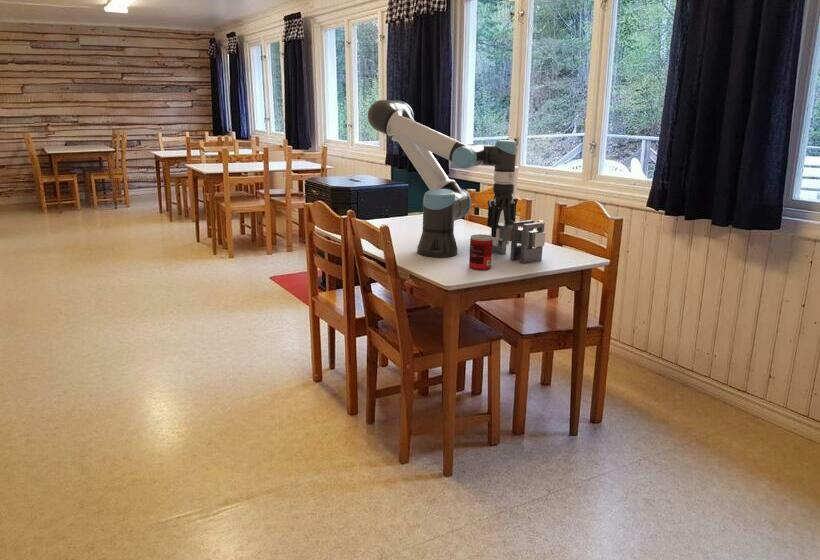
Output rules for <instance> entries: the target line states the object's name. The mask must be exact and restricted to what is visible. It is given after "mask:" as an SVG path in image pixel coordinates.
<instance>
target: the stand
mask: <svg viewBox="0 0 820 560" xmlns="http://www.w3.org/2000/svg"><path fill="white" fill-rule="evenodd" d="M507 246H508V244H507V241H506V240H503V239H499V238H498V246H495V245H493V246H492V253H495V254H499V255H505V254H507Z"/></svg>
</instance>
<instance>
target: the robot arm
mask: <svg viewBox="0 0 820 560" xmlns="http://www.w3.org/2000/svg"><path fill="white" fill-rule="evenodd" d="M414 117H415V114H414V111H413V109H412V107H411V106H410V105H409V104H408V103H407V102H405V101H402V100H400V99H393V100H390V99H388V100H387V99H381V100H380V99H379V100H376V101H375V102H373V103H372V104H371V105H370V106H369V108H368V112H367V121H368V123H369V125H370V127H371V128H373V129H374V130H376V131H377V132H379V133H382V134H383V135H387V136H388V137H389V138H390V139H391V140H392V141H393V142H397V143H398V144H399V146H400V147H401V149H402V150H403V151H404V153H405V155H406V156H407V158H408V159H409V161H410V162H411V163H412V165H413V167H414V168H415V170H416V171H417V173H418V174H419V175H420V177H421V179H422V180H423V182H424V183H425V185H426V186H427V188H428V189H429V190H428V191H427V190H426V192H425V193H424V195H423V201H422V204H423V205H422V232H421V236H420V239H419V242H418V244H417V250H416V252H417V254H418V255H421V256H424V257H431V258H448V257H449V258H450V257H455V256H456V255H458V245H457V241H456V238H455V235H454V234H455V233H454V231H455V230H454V229H455V228H454V227H455V221H458V220H461V219H463V218H464V217H465V216H467V215H468V214H469V212H470V211H471V208H472V203H473V202H472V197H471V195H470V193H469V192H468V191H467V190H465V189H464V188H461V187H460V186H459V184H458V183H457V182H456V180H455V179H451V178H449V177H448V175H447V174H446V172H445V171H444V169H443V168H442V166H441V164H440V163H439V162H438V160H437V158H436V157H435V156H434V154H435V155H437V156H439V157H441V158H444V159H446V160H448V161H450V162H452V163H453V164H454V165H455V166H456V167H457V168H459V169H469V168H472V167H478V166H489V167H490V166H491V167H494V173H493V182H494V183H493V185H492V186H493V190H492V191H493V194H495V195H493V199H491V200H488V201H487V206H488V207H487V209H488V210H487V222H486V223H487V224H486V226H487V227H488V228H491V230H490V231H491V232H490V236H492V237H493V245H495V246H498V239H499V238H498V236H499V229H498V228H497V227H498V223H499V219H500V215H501V211H502V210H503V213H504V220H505V223H506V224H511V225H513V222H516V218H517V217H516V216H517V204H518V198H516V199H514V198H512V194H513V192H514V185H513V184H512V183H513V182H514V175H515V166H516V161H517V160H516V159H517V142H516V141H515V140H509V139H508V140H507V139H497V140H496V141H495V144H494V145H493V144H491V145H490V144H477V143H474V144H473V143H471V144H469V143H468V144H466V143H464V142H461V141H459V140H457V139H455V138H454V137H453V138H452V137H450V136H448V135H446V134H443V133H442V132H439V131H437V130H435V129H432V128H430V127H429V126H426V125H423V124H421V123H420V122H417V121H416V120H415V118H414ZM494 224H495V225H494ZM506 241H507V240H506ZM509 244H510V241H507V245H509Z"/></svg>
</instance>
